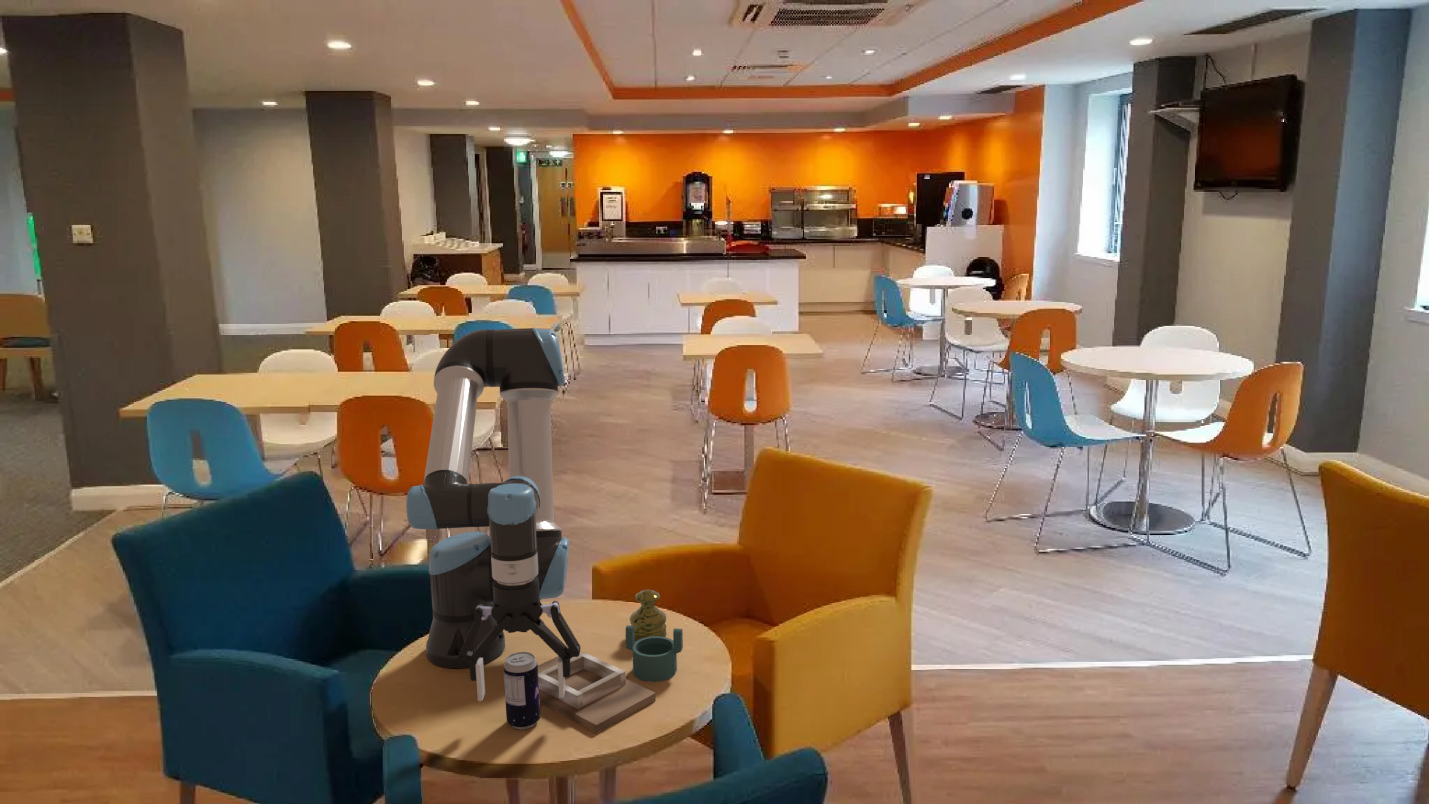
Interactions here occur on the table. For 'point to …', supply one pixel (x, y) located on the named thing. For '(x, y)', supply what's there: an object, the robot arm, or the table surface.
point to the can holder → (591, 692)
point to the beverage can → (521, 690)
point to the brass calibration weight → (648, 616)
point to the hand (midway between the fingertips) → (522, 695)
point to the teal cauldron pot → (654, 655)
